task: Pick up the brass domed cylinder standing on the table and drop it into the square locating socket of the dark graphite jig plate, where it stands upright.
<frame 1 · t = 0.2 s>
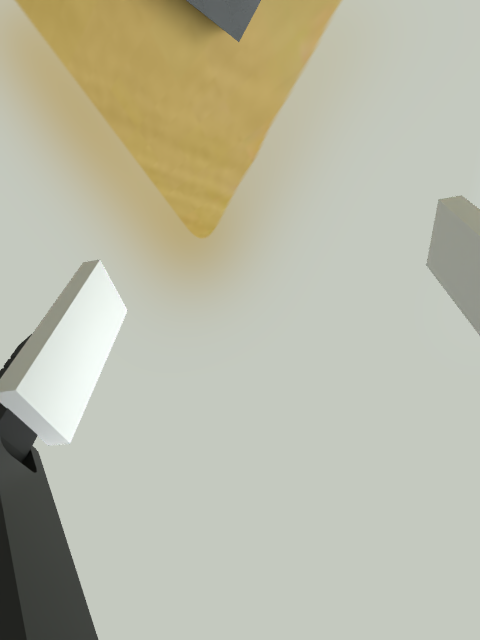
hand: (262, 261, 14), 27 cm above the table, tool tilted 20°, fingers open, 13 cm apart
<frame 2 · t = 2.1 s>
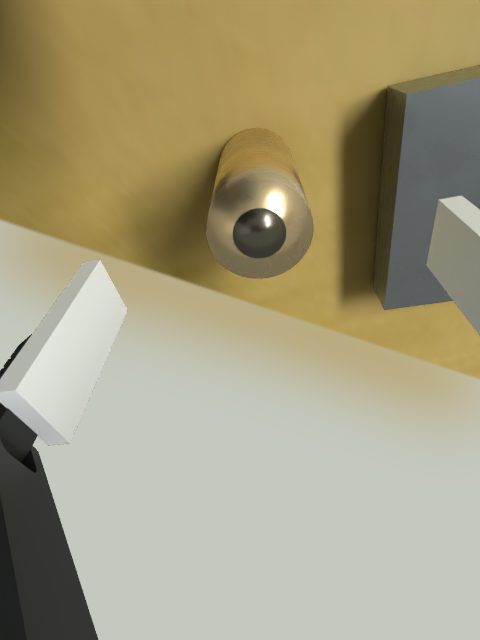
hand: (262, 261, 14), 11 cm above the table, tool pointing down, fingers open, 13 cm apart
brass domed cylinder: (255, 169, 22), on the table
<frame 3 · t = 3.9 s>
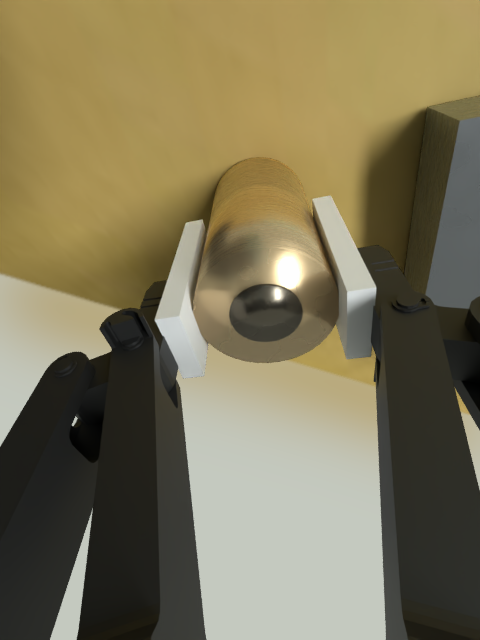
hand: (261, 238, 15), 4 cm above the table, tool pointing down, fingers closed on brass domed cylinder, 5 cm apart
brass domed cylinder: (259, 205, 18), on the table, touching gripper
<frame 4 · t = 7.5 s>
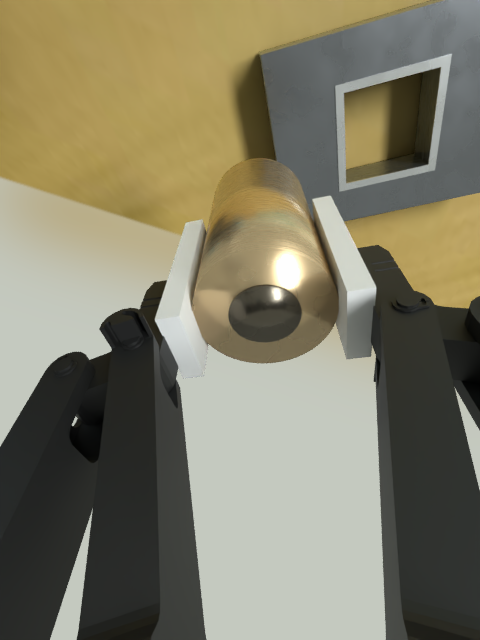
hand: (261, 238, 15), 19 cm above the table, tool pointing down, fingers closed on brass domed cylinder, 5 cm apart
brass domed cylinder: (258, 206, 18), point 16 cm above the table, touching gripper
jig plate: (377, 122, 29), on the table
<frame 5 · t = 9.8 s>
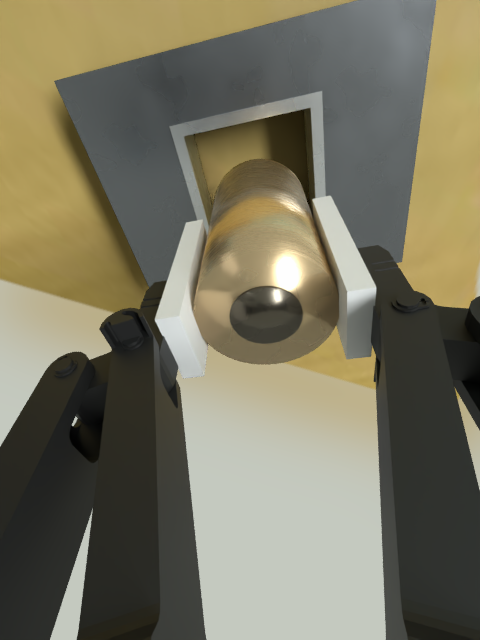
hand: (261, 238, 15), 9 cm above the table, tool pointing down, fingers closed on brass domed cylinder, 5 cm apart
brass domed cylinder: (259, 207, 18), point 6 cm above the table, touching gripper
jig plate: (255, 170, 22), on the table
when the fingers open (5 cm above the table, at t = 11.4 s): brass domed cylinder drops 1 cm, resting in jig plate.
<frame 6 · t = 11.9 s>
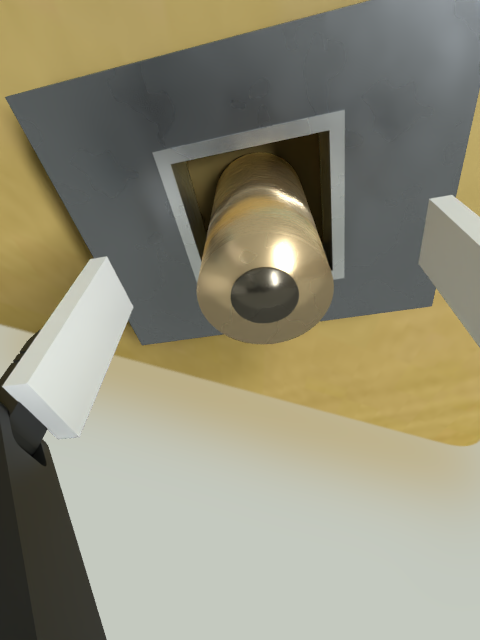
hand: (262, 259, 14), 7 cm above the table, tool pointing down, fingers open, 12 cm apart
brass domed cylinder: (258, 199, 19), resting in jig plate
jig plate: (258, 198, 19), on the table
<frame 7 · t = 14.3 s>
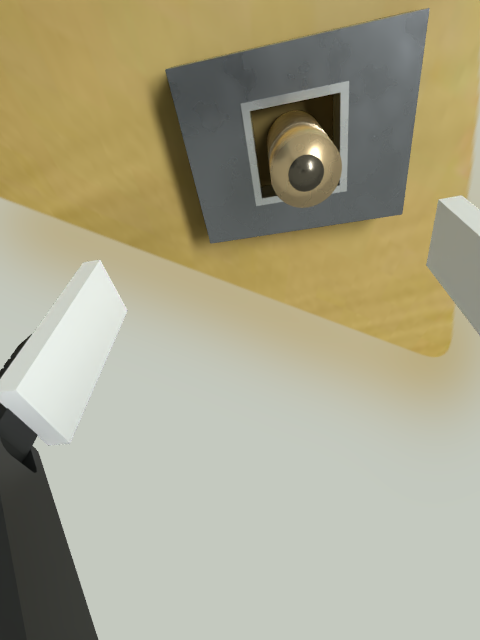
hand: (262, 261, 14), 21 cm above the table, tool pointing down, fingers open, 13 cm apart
brass domed cylinder: (294, 141, 30), resting in jig plate
jig plate: (294, 141, 30), on the table
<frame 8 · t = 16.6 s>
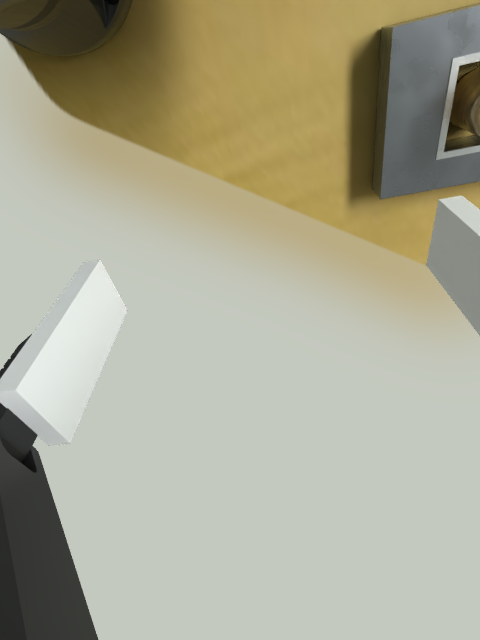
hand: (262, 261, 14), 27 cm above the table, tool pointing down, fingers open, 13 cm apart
brass domed cylinder: (473, 98, 32), resting in jig plate
jig plate: (474, 98, 32), on the table
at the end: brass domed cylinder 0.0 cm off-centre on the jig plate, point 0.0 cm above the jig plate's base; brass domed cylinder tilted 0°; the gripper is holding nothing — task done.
